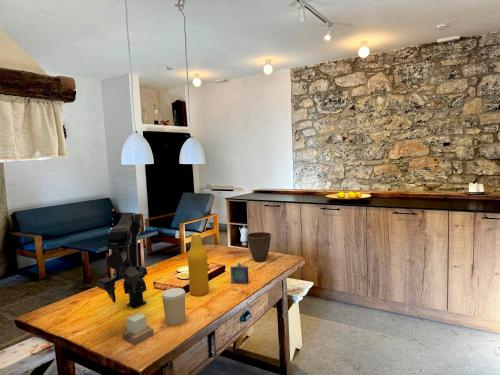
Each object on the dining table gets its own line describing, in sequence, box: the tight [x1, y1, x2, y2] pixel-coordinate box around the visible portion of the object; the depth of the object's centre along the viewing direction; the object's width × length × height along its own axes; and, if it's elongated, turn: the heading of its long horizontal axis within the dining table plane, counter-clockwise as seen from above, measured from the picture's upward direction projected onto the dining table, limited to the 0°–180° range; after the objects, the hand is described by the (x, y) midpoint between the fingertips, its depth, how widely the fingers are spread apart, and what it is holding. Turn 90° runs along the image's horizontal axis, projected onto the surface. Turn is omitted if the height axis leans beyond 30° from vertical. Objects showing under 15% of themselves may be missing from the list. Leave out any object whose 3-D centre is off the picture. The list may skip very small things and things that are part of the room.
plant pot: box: [246, 231, 272, 263], centre depth 212 cm, size 15×15×16 cm
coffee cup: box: [161, 287, 186, 326], centre depth 139 cm, size 9×9×12 cm
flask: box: [230, 262, 249, 285], centre depth 177 cm, size 9×3×11 cm, turn 79°
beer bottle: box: [187, 232, 210, 297], centre depth 166 cm, size 9×9×29 cm
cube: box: [125, 312, 148, 335], centre depth 129 cm, size 5×5×5 cm
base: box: [121, 324, 155, 346], centre depth 129 cm, size 8×8×3 cm
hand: (125, 298), depth 136 cm, fingers open, 9 cm apart
